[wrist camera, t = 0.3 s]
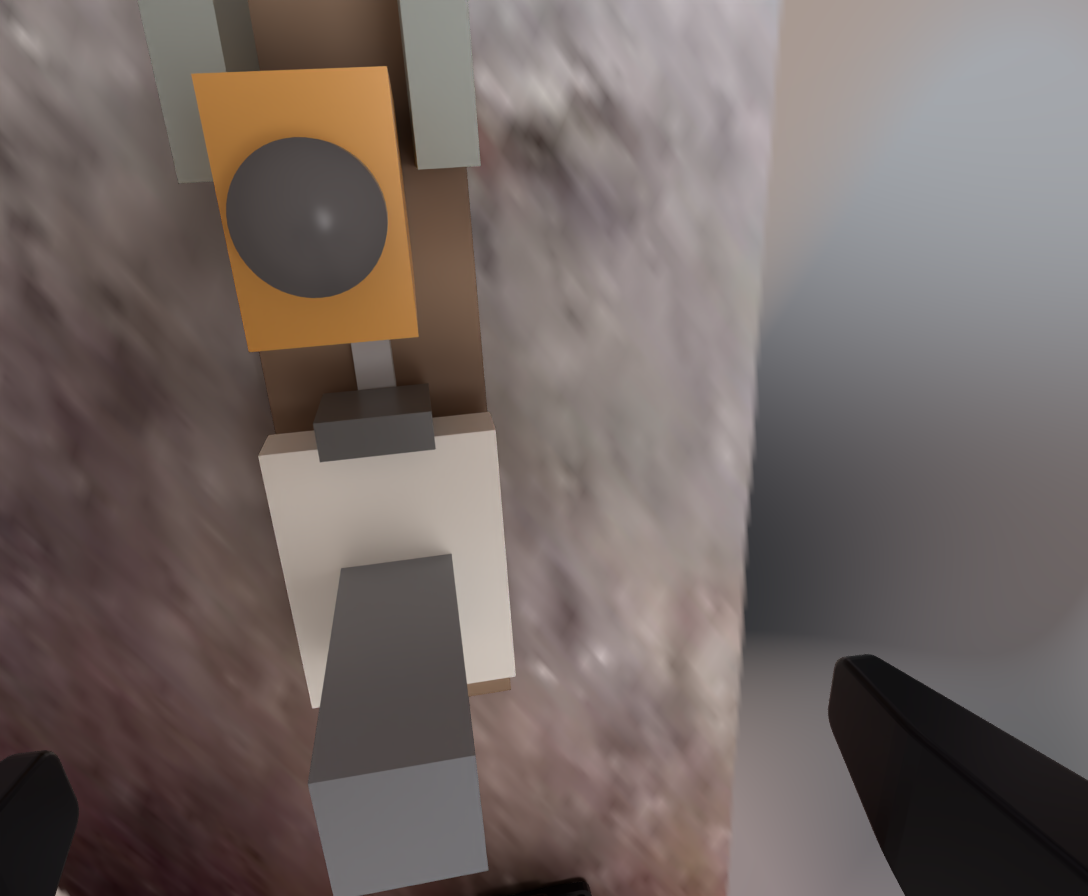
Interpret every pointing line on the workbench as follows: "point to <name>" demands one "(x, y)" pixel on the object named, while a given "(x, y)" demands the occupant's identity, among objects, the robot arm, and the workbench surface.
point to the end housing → (228, 46)
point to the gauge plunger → (311, 204)
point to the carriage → (393, 625)
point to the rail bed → (434, 228)
